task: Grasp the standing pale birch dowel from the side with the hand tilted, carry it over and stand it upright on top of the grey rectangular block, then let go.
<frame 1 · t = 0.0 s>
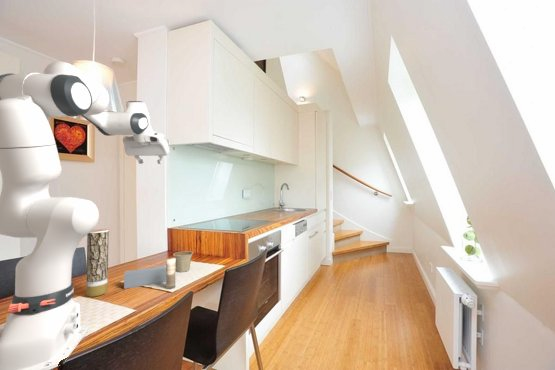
hand: (150, 163, 123), 54 cm above the table, tool tilted 30°, fingers open, 8 cm apart
flower pot: (183, 270, 126), on the table
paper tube: (97, 294, 97), on the table
dowel: (170, 287, 104), on the table
grey rectangular block: (145, 283, 108), on the table
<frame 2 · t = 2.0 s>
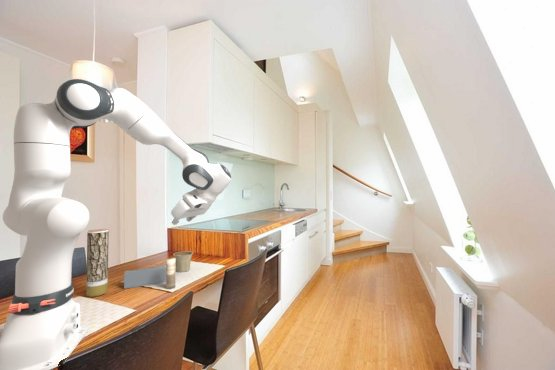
hand: (181, 221, 104), 28 cm above the table, tool tilted 45°, fingers open, 8 cm apart
nothing on the table moved.
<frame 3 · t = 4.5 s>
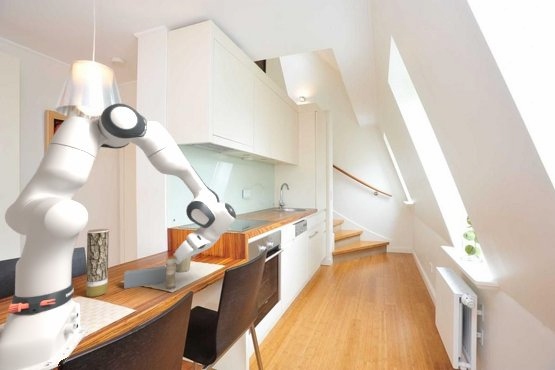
hand: (184, 259, 102), 12 cm above the table, tool tilted 45°, fingers open, 8 cm apart
nothing on the table moved.
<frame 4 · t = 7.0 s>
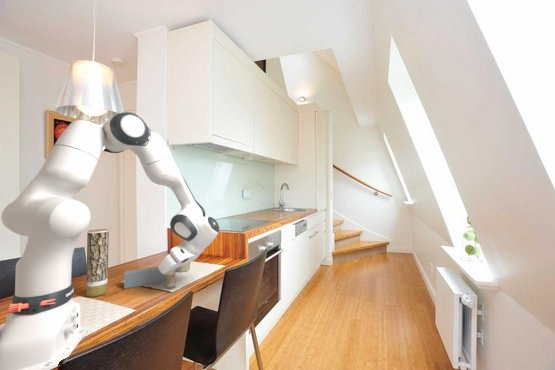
hand: (169, 271, 104), 7 cm above the table, tool tilted 45°, fingers closed on dowel, 4 cm apart
dowel: (170, 287, 104), on the table, touching gripper
everything else where it was.
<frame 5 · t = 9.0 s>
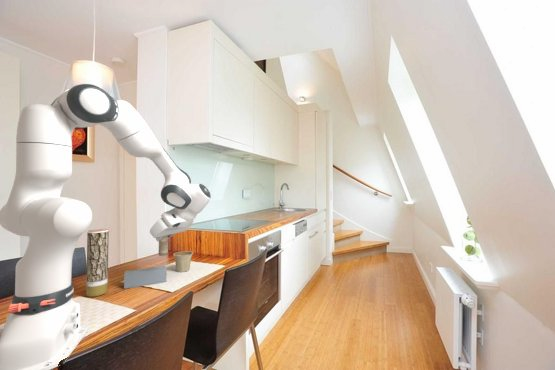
hand: (162, 239, 106), 20 cm above the table, tool tilted 45°, fingers closed on dowel, 4 cm apart
dowel: (163, 254, 105), point 13 cm above the table, touching gripper
everything else where it was.
when the fingers open (14 cm above the table, at t = 11.4 s): dowel drops 1 cm, resting on grey rectangular block.
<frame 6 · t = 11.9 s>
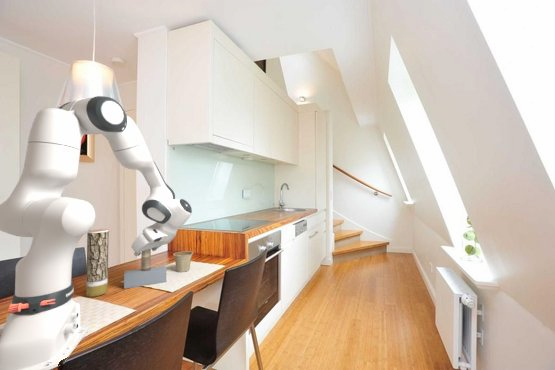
hand: (145, 252, 109), 14 cm above the table, tool tilted 45°, fingers open, 8 cm apart
dowel: (145, 269, 108), point 6 cm above the table, touching grey rectangular block
everything else where it was.
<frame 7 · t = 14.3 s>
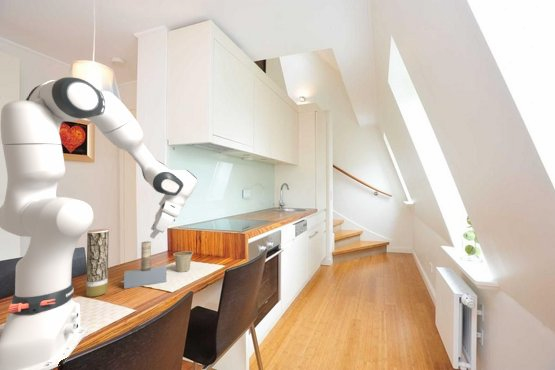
hand: (152, 233, 104), 23 cm above the table, tool tilted 30°, fingers open, 8 cm apart
nothing on the table moved.
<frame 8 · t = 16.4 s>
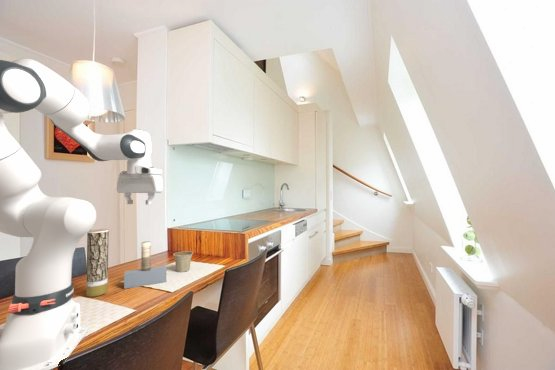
hand: (139, 204, 101), 35 cm above the table, tool pointing down, fingers open, 8 cm apart
nothing on the table moved.
at the end: dowel inside the target area on the grey rectangular block (0.1 cm from its centre), point 6.0 cm above the grey rectangular block's base; dowel tilted 0°; the gripper is holding nothing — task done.
